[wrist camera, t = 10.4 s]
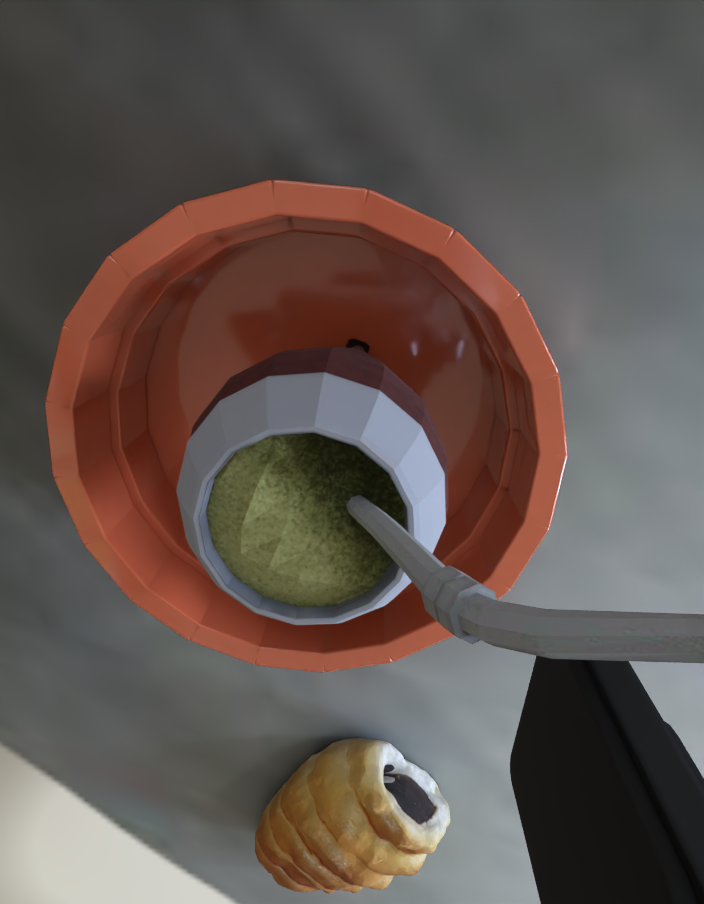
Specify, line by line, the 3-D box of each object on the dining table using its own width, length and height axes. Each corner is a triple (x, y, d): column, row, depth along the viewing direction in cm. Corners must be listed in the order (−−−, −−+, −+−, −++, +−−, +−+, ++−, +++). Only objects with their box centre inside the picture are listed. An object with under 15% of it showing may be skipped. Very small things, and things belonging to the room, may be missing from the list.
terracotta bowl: (110, 176, 18) (15, 153, 13) (563, 219, 18) (628, 212, 13) (133, 564, 23) (71, 646, 19) (483, 601, 23) (509, 693, 18)
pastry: (319, 872, 29) (311, 959, 26) (226, 801, 28) (203, 882, 24) (459, 790, 27) (471, 874, 23) (364, 707, 25) (361, 783, 22)
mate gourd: (216, 478, 21) (-116, 957, 7) (270, 268, 18) (-100, 362, 4) (403, 537, 21) (446, 1095, 7) (484, 341, 19) (793, 644, 5)
